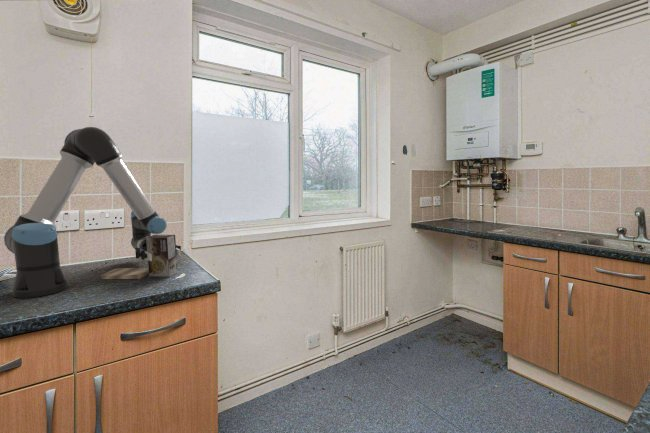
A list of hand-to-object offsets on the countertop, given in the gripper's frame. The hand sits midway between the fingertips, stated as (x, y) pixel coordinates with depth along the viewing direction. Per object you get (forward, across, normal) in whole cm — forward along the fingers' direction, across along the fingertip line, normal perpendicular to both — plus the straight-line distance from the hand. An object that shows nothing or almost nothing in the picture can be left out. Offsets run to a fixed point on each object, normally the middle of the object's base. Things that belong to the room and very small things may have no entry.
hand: (165, 255), depth 134 cm
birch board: (-13, +11, -9) cm, 19 cm away
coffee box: (-4, 0, -9) cm, 10 cm away
